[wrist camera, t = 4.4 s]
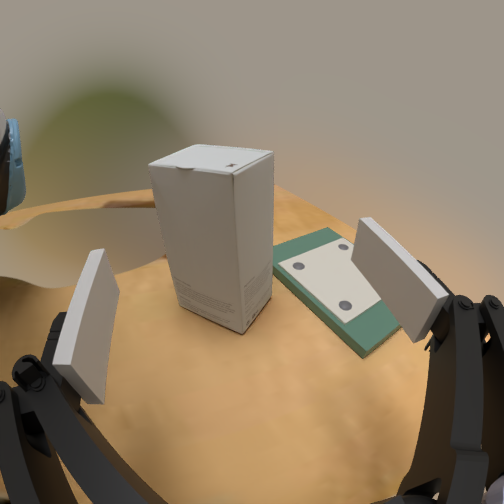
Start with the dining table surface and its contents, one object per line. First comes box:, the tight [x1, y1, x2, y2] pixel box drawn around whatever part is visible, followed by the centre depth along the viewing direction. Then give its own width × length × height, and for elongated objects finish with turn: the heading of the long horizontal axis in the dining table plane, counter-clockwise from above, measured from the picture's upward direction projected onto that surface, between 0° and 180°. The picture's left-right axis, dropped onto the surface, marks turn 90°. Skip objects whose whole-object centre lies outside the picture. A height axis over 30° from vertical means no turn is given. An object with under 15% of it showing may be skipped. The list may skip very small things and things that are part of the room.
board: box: [272, 227, 402, 359], centre depth 31 cm, size 18×12×2 cm, turn 31°
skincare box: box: [148, 144, 274, 334], centre depth 25 cm, size 8×7×16 cm
